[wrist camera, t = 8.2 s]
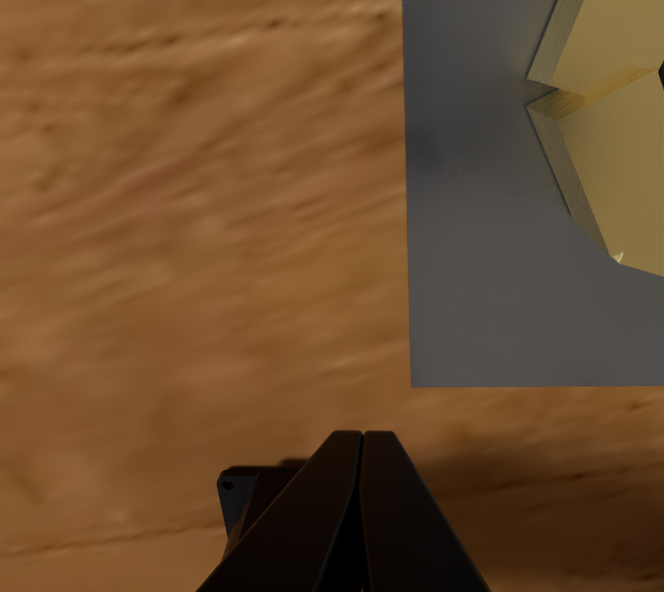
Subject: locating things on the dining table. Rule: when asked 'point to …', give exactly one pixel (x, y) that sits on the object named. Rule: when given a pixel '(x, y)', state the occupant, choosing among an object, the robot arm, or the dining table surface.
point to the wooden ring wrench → (607, 122)
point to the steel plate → (505, 221)
